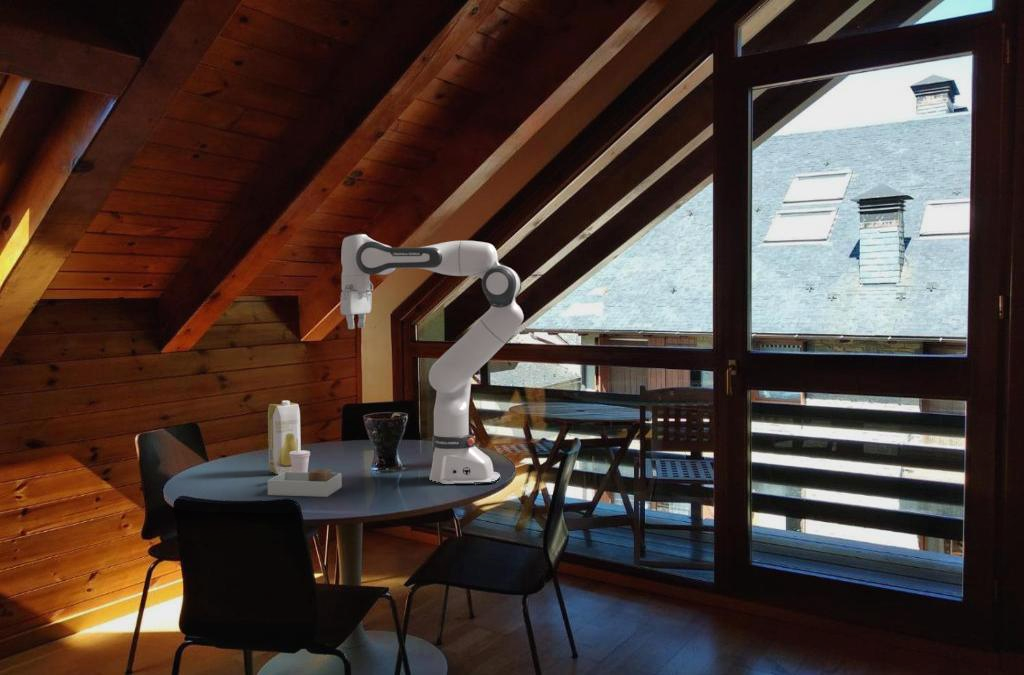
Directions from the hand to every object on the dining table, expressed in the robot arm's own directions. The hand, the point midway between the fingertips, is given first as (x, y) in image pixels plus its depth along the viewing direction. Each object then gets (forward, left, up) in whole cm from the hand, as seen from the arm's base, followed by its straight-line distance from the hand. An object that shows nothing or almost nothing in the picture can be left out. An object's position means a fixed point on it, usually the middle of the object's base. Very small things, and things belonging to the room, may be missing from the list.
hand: (356, 328), depth 262 cm
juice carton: (+26, -3, -48) cm, 55 cm away
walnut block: (+4, +24, -47) cm, 53 cm away
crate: (+8, +24, -48) cm, 54 cm away
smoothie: (+15, +11, -48) cm, 52 cm away
